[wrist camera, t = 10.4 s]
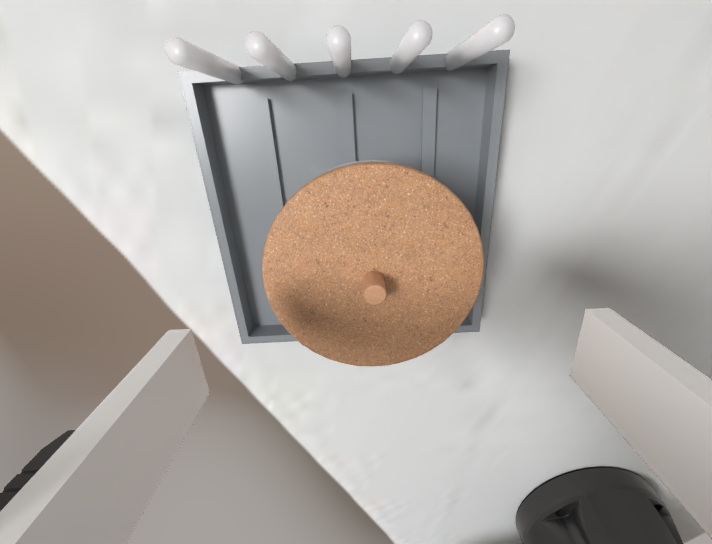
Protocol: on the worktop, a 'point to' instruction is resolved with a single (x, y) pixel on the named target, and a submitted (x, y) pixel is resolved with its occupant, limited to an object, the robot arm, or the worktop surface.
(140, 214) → the worktop surface
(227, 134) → the dish rack
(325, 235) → the lidded jar
